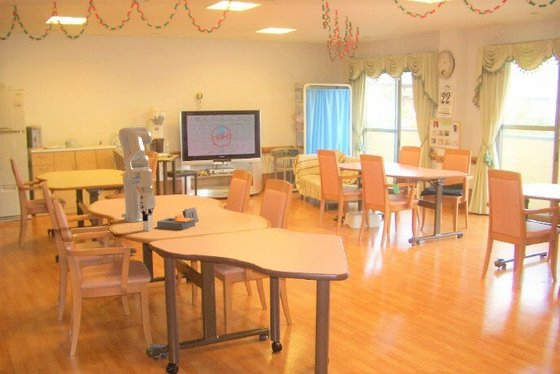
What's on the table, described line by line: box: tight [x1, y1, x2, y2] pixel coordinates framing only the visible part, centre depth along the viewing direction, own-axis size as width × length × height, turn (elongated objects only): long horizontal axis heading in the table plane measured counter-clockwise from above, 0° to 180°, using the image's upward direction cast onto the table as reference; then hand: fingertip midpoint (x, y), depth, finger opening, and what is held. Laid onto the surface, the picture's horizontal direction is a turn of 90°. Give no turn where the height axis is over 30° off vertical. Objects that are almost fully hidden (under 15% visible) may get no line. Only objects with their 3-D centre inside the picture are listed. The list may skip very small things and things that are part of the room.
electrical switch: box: [182, 207, 199, 223], centre depth 386 cm, size 9×5×9 cm, turn 141°
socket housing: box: [156, 217, 196, 231], centre depth 371 cm, size 18×14×4 cm
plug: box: [142, 212, 154, 232], centre depth 361 cm, size 4×4×10 cm
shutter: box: [174, 213, 193, 222], centre depth 368 cm, size 8×9×3 cm
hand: (147, 219), depth 361 cm, fingers closed on plug, 4 cm apart
